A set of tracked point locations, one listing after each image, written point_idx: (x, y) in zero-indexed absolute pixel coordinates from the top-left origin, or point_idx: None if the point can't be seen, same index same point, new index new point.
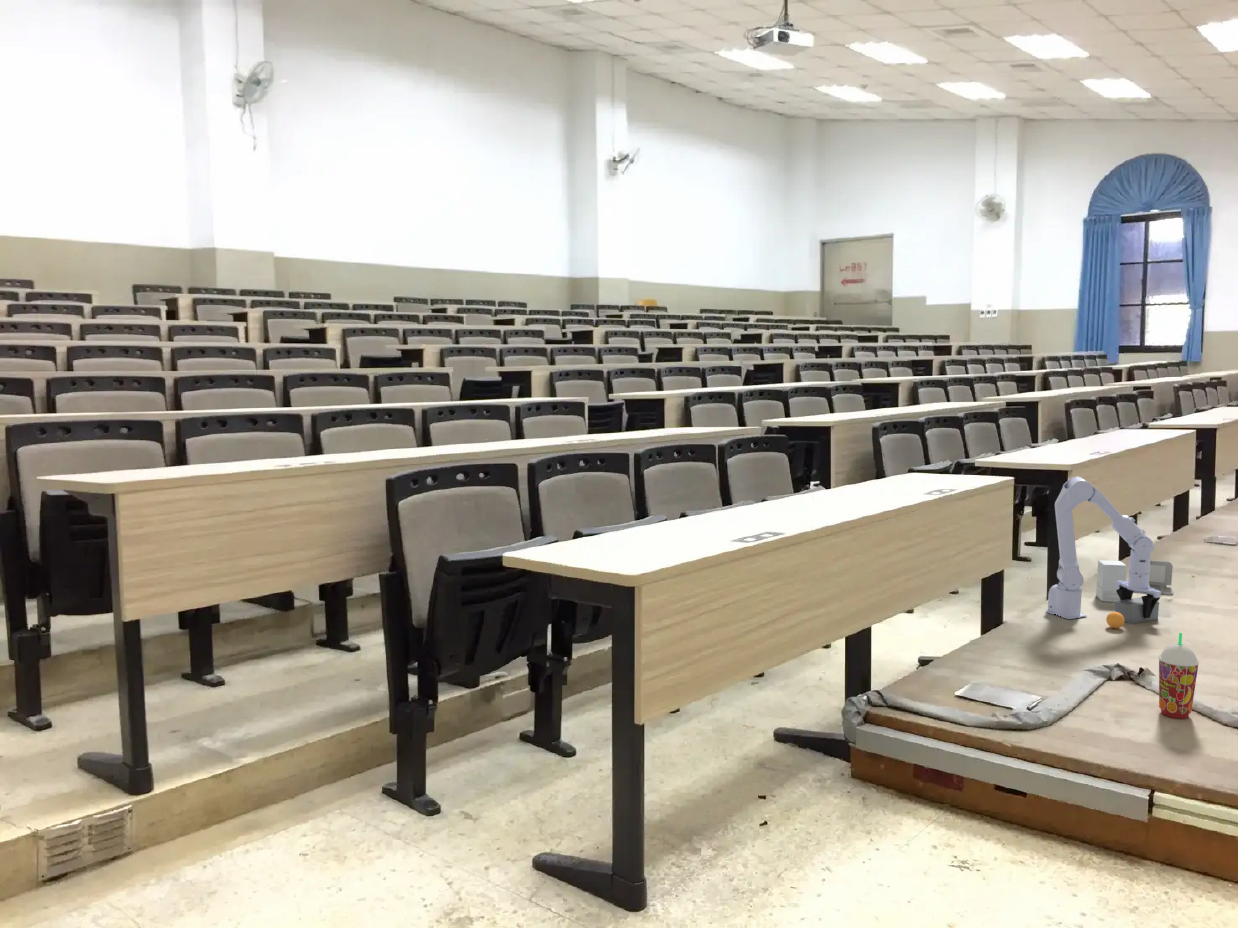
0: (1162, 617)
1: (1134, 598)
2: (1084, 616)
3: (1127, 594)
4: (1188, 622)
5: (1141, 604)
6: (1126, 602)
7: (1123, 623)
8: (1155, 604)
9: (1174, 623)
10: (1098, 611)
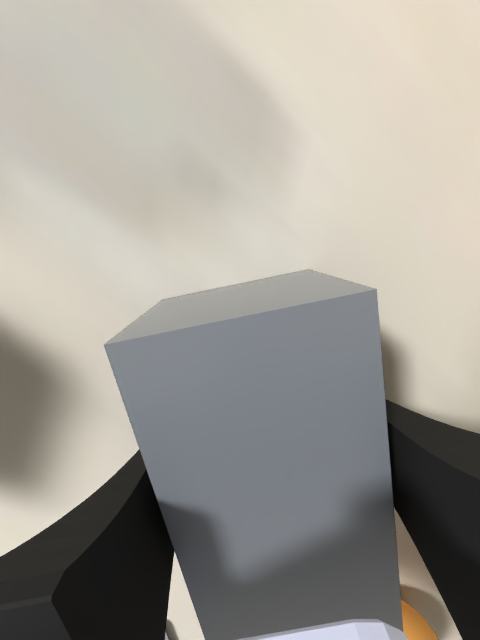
0: (276, 193)
1: (153, 469)
2: (166, 635)
3: (135, 606)
4: (459, 78)
5: (387, 544)
6: (276, 617)
7: (432, 630)
8: (470, 433)
9: (432, 223)
10: (60, 510)
